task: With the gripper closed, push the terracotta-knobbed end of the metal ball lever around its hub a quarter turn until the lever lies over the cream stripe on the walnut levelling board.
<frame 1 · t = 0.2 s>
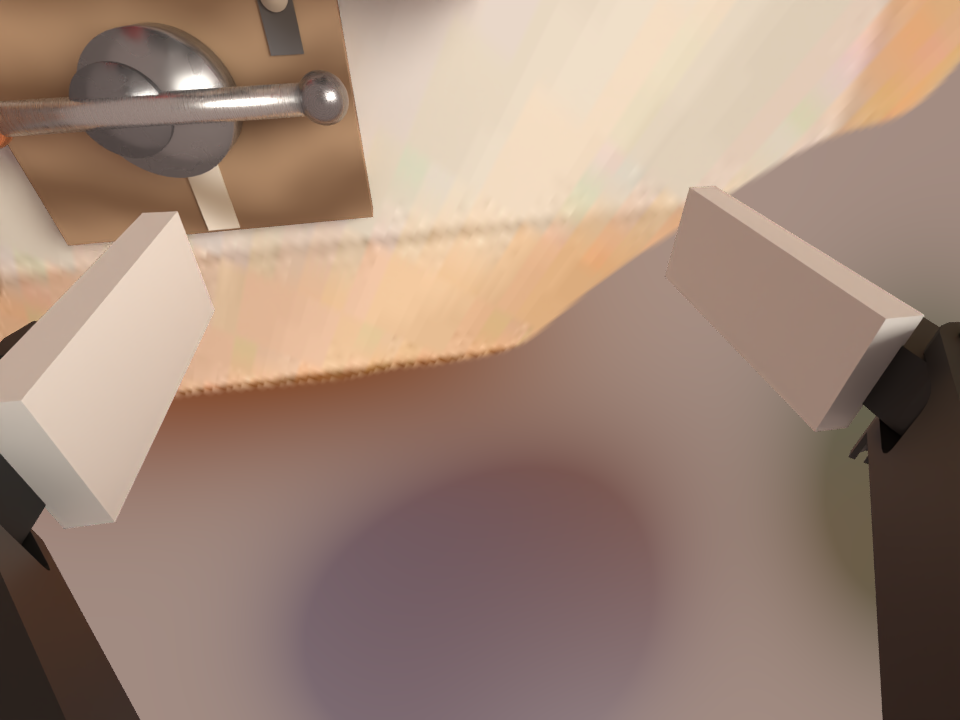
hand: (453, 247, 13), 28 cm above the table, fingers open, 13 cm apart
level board: (185, 91, 33), on the table
metal ball lever: (162, 106, 29), point 5 cm above the table, hinge at -90.0°
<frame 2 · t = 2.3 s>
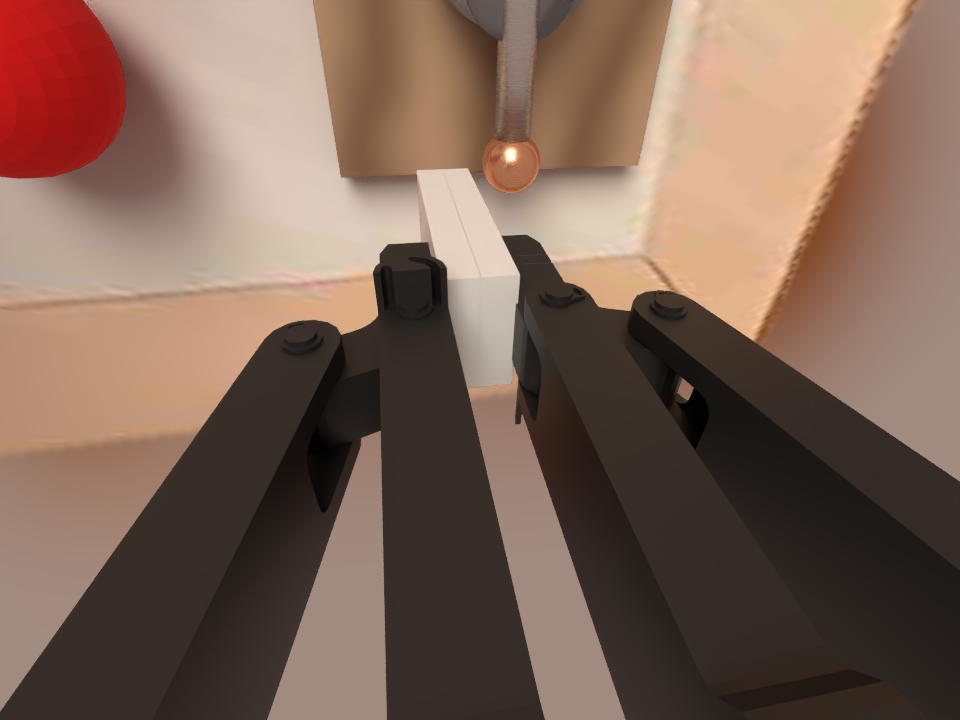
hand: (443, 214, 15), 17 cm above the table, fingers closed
ornament: (48, 48, 24), on the table
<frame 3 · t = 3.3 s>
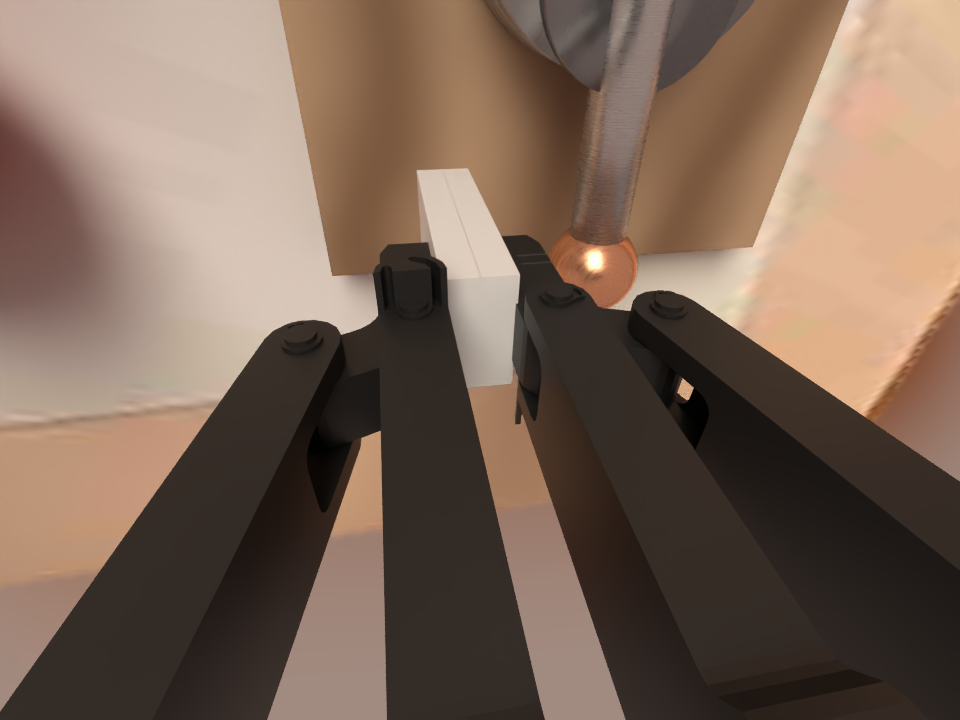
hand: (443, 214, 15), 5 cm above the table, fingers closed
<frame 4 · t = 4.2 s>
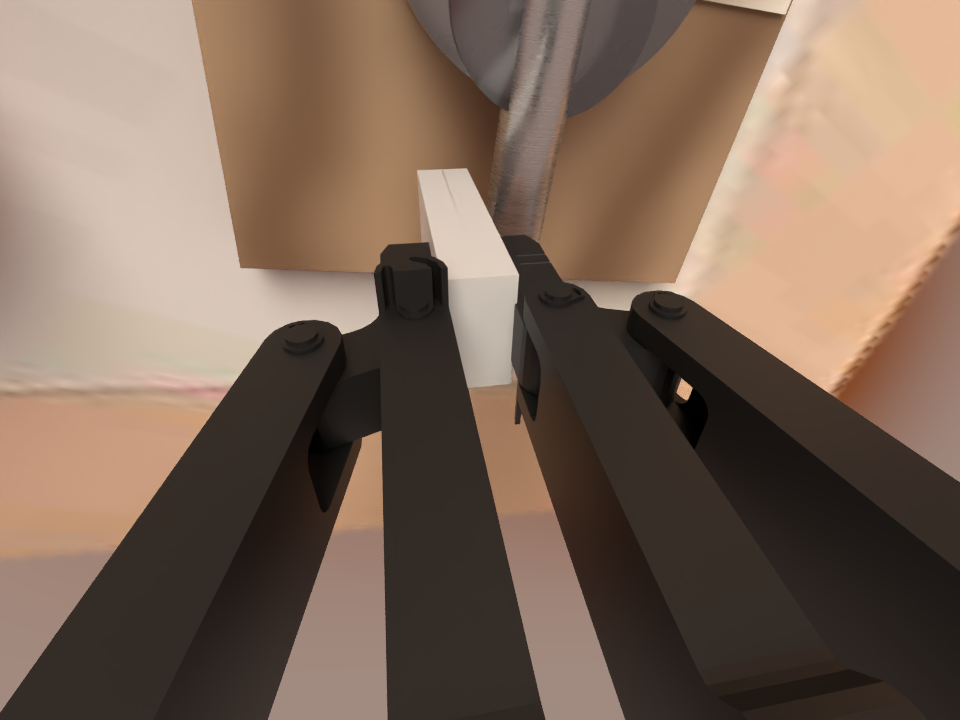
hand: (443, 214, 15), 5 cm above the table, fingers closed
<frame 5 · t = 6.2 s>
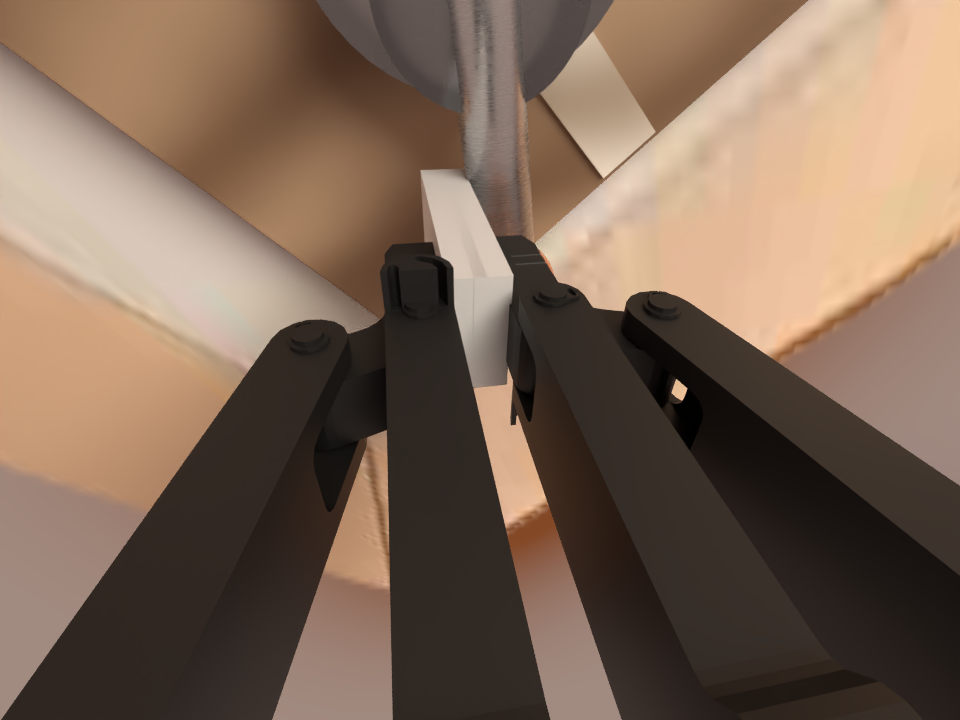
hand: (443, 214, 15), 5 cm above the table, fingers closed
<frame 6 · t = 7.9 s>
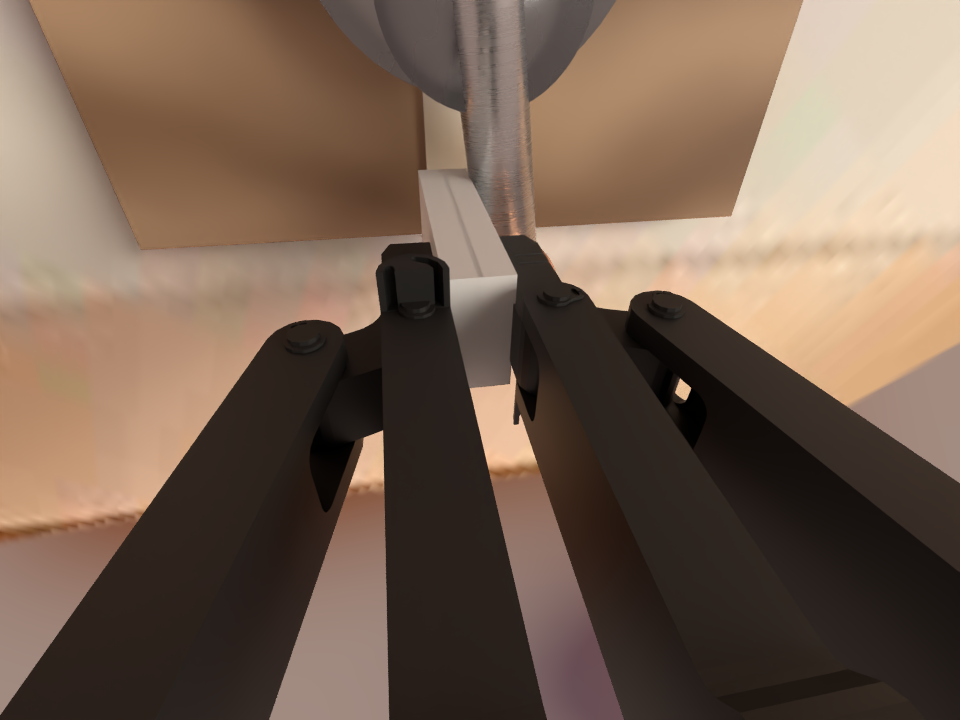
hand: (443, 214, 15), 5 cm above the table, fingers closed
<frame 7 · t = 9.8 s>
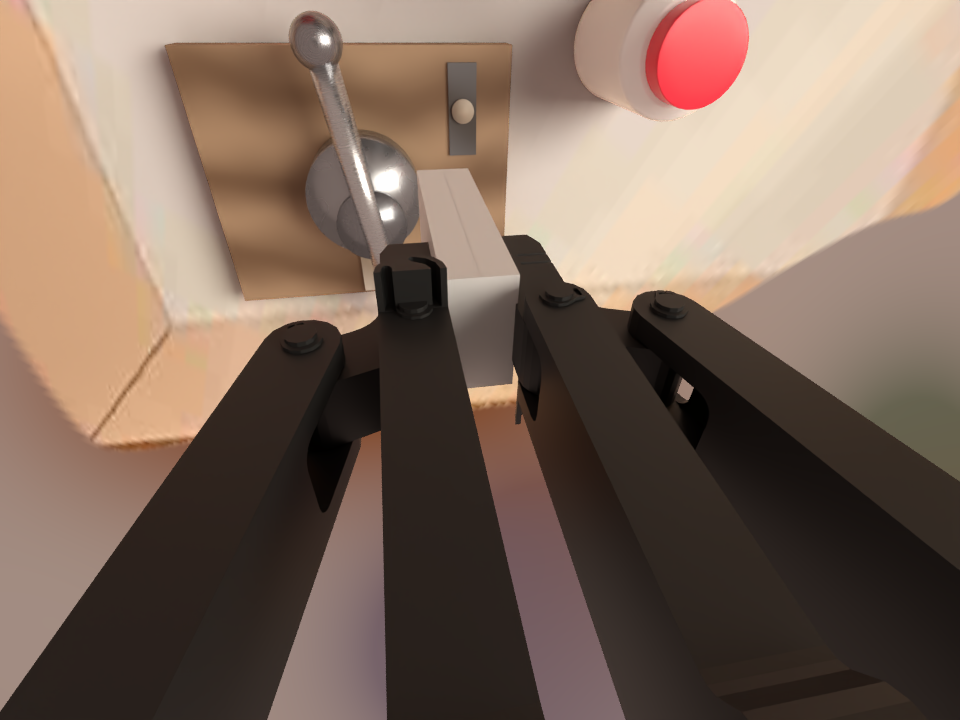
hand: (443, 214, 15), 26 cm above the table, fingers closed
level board: (365, 178, 39), on the table
pill bottle: (622, 42, 36), on the table
metal ball lever: (365, 196, 35), point 5 cm above the table, hinge at 9.7°
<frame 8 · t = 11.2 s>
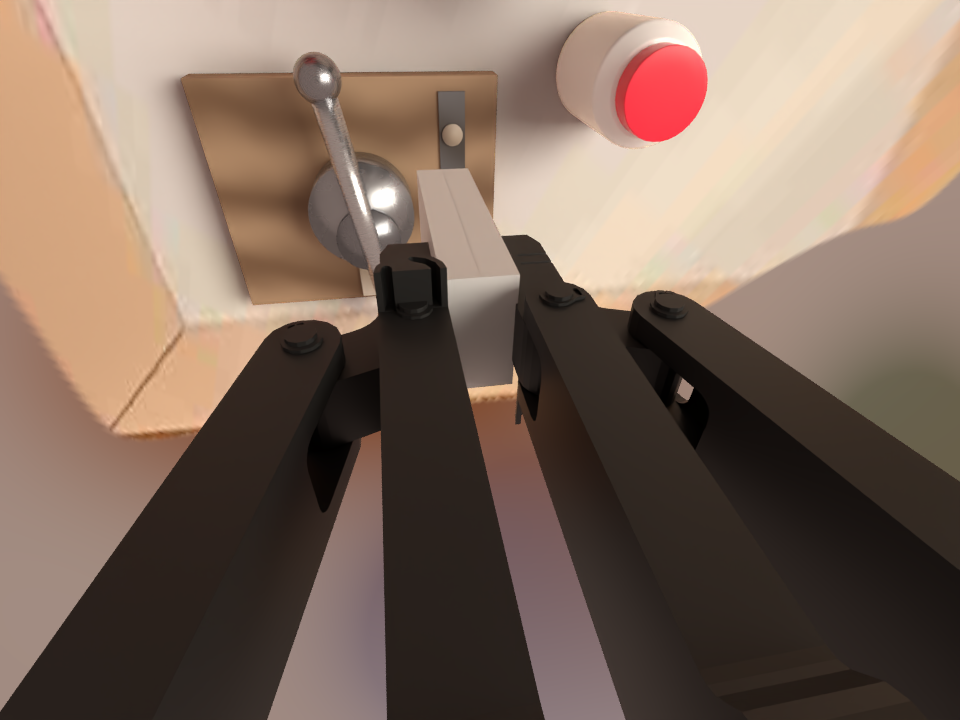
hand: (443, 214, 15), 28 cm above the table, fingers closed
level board: (363, 193, 42), on the table
pill bottle: (601, 69, 39), on the table
metal ball lever: (362, 213, 38), point 5 cm above the table, hinge at 9.7°
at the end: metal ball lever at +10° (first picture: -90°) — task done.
